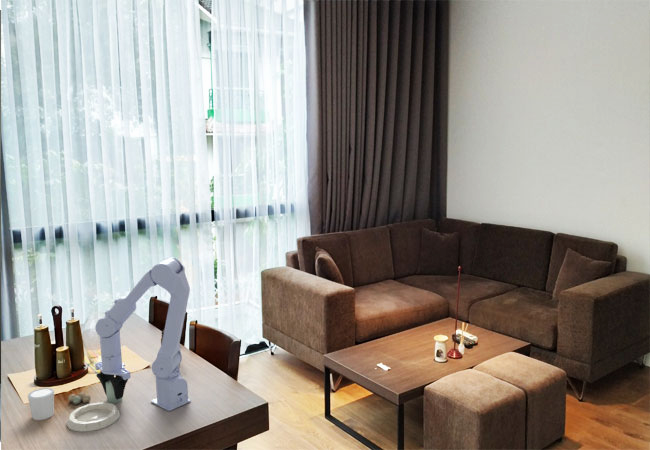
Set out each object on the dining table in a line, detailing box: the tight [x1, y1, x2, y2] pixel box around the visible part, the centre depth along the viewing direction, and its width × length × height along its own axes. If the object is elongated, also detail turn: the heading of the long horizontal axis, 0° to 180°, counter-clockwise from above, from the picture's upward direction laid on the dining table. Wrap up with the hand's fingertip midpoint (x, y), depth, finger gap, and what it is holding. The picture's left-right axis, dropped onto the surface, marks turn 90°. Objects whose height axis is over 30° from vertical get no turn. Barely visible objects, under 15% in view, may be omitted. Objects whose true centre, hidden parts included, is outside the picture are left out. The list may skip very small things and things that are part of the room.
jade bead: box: [105, 380, 123, 405], centre depth 171 cm, size 4×4×6 cm
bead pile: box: [67, 392, 91, 405], centre depth 170 cm, size 6×5×2 cm
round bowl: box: [66, 401, 121, 433], centre depth 160 cm, size 14×14×2 cm
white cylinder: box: [27, 387, 55, 421], centre depth 162 cm, size 7×7×7 cm
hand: (114, 396), depth 171 cm, fingers closed on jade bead, 4 cm apart
